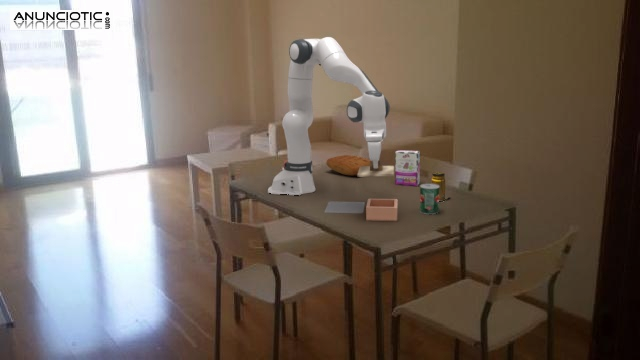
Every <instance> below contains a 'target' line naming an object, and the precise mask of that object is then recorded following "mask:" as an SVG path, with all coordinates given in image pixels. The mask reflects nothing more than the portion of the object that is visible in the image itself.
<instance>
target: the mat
mask: <svg viewBox="0 0 640 360" xmlns="http://www.w3.org/2000/svg"><path fill="white" fill-rule="evenodd" d="M365 206H366V201H328V203H327V205H326V207H325V209H324V213H327V214H329V213H330V214H338V213H339V214H364V210H365Z"/></svg>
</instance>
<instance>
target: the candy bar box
mask: <svg viewBox="0 0 640 360" xmlns="http://www.w3.org/2000/svg"><path fill="white" fill-rule="evenodd" d="M394 158H395V159H394V161H395V162H394V164H395V165H394V179H395V180H394V185H396V186H410V187H411V186H412V187H418V186H420V185H421V184H420V179H421V178H420V177H421V175H420V174H421V173H420V172H421V170H420V169H421V167H420V165H421V161H420V160H421V151H420V150H402V149H401V150H400V149H397V150H396V151H395V153H394Z"/></svg>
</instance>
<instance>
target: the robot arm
mask: <svg viewBox="0 0 640 360" xmlns="http://www.w3.org/2000/svg"><path fill="white" fill-rule="evenodd" d="M288 52H289V57H290V61H289V62H290V63H289V66H288V67H289V68H288V76H287V77H288V78H287V98H288V104H289V111H288V112H287V113H285V115H284V116H283V118H282V124H281V125H282V128H283V131H284V137H285V141H286V151H287V159H286V160H284V162H283V170H281V171H280V172H279V173H277V174H276V175H275V176H274V177H273V180H272V183H271V184H272V185H270V186H269V187H268V189H267V193H268V194H269V193H271V194H270V195H280V194H287V195H286V196H294V195H299V196H302V195H301V194H308V193H313V192H315V191H316V187H315V186H316V185H315V182H314V178H313V171H314V169H313V168H314V166H313V165H314V164H313V160H312V144H311V140H310V136H309V132H308V131H309V128H310V127H311V125H313V121H314V109H313V97H312V95H313V78H314V76H313V75H314V68H315V66H316V65H319V66H320V67H322V69H323V71H324V73H325V74H326V76H328V79H331V80H332V81H334V82H340V83H345V84H349V85H352V86H354V87H355V88H357V89H359V91H360V93H361V96H359V97H357V98H354V99H351V100H350V101H349V102H348V104H347V107H346V115H347V118H348V119H349V120H350V121H351V122H352V123H363V137H364V139H365V141H366V143H367V149H368V157H369V160H371V161H373V167H374V168H378V161H380V157H381V152H382V142H383V141H384V139H385V138H386V137H387V122H386V118H387V117H388V116H389V114H390V109H391V106H390V102H389V100H388V99H387V98H386V97H385V96H384V94H383V93H382V92H381V91H379V90H378V88H376V87H377V86H375V85H374V83H373V82H372V81H371V80H370V78H369V77H368V75H367V74H366V73H365V71H364V70H362V68H360V67H358V66H357V65H355V64H354V63H353V62H352V61H351V60H350V59H349V57H348V56H347V54H346V52H345V51H344V49H343V47H342V46H341V45H340V44H339V43H338V41H337V40H336V39H335V38H333V37H331V36H325V37H323V38H315V37H314V38H299V39H295V40H293V41H292V42H291V44H290V45H289V49H288ZM288 194H289V195H288Z"/></svg>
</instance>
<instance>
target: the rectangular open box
mask: <svg viewBox="0 0 640 360" xmlns="http://www.w3.org/2000/svg"><path fill="white" fill-rule="evenodd" d="M365 206H366V207H365V214H366V215H365V217H366V221H373V222H375V221H377V222H378V221H380V222H397V221H398V206H399V205H398V199H397V198H368V199H367V203H366V205H365Z"/></svg>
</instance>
